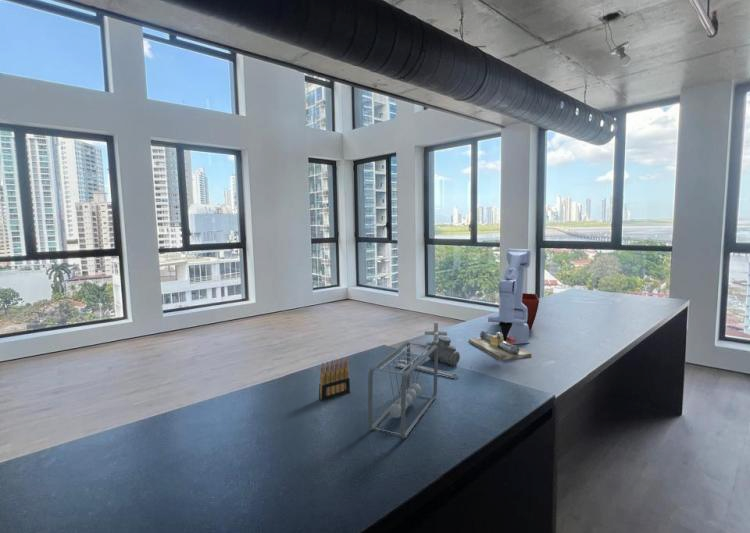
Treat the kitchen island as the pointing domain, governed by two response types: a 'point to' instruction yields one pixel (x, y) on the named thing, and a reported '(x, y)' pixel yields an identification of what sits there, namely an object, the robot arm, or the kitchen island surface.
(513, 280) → the robot arm
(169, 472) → the kitchen island surface
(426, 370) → the adjustable wrench
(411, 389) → the newton's cradle
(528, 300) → the plant pot
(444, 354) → the pipe fitting
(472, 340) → the valve board
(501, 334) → the valve lever
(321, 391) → the ammunition clip
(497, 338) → the valve pipe
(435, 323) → the pipe connector
